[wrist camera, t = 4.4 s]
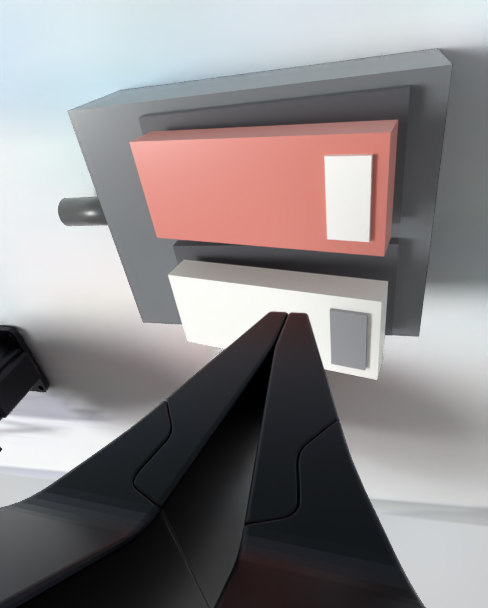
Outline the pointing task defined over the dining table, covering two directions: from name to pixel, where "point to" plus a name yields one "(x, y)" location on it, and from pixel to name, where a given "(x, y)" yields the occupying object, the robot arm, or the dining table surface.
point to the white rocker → (285, 309)
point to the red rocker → (273, 185)
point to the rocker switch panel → (269, 112)
